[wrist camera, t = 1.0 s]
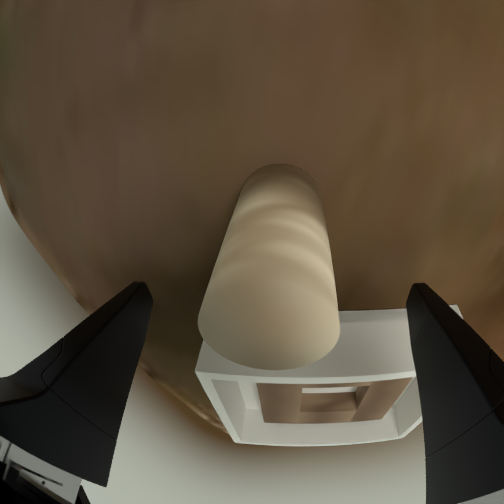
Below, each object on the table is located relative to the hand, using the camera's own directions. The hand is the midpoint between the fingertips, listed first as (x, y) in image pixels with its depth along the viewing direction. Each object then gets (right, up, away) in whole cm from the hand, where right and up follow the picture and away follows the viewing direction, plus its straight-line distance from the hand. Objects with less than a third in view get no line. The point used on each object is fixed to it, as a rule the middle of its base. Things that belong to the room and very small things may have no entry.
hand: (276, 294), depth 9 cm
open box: (+6, -9, +14) cm, 18 cm away
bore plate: (+6, -10, +13) cm, 17 cm away
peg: (+1, +4, +5) cm, 6 cm away
